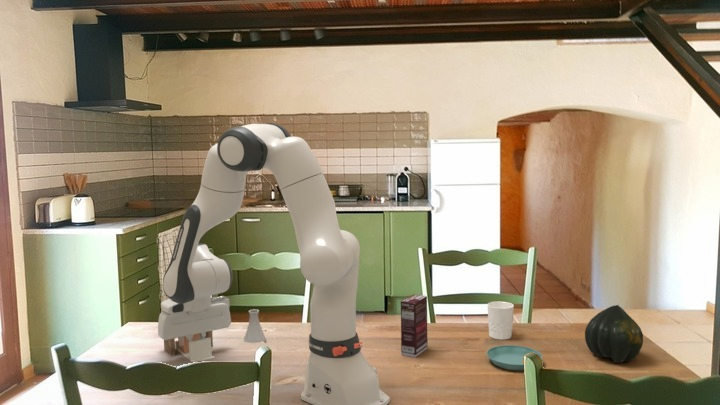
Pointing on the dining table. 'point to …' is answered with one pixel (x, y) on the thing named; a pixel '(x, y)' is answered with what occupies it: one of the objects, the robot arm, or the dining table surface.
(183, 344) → the block
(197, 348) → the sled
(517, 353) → the saucer
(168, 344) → the tunnel
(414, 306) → the supplement box
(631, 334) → the squash
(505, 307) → the white cup
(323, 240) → the robot arm
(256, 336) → the flask
